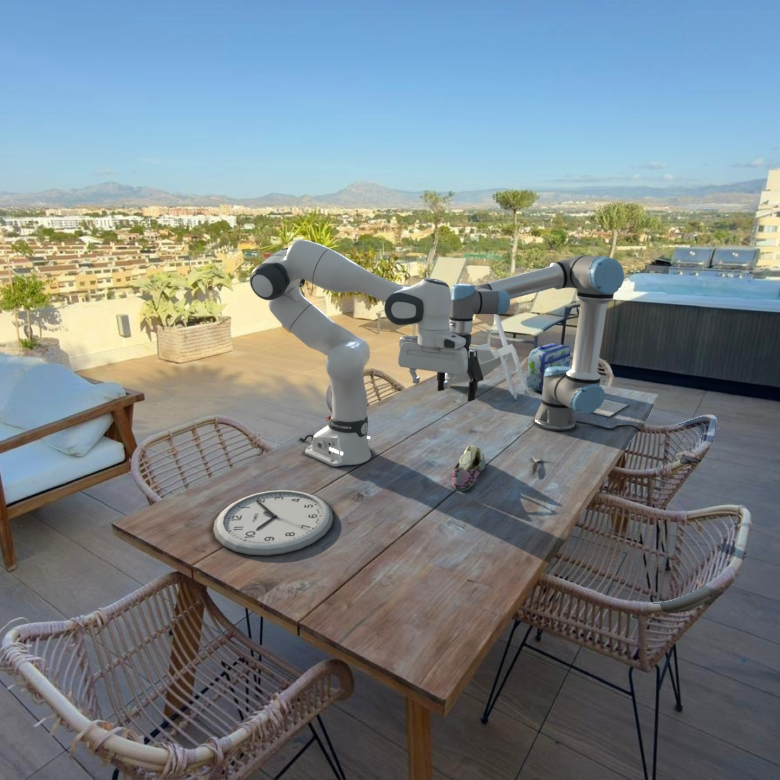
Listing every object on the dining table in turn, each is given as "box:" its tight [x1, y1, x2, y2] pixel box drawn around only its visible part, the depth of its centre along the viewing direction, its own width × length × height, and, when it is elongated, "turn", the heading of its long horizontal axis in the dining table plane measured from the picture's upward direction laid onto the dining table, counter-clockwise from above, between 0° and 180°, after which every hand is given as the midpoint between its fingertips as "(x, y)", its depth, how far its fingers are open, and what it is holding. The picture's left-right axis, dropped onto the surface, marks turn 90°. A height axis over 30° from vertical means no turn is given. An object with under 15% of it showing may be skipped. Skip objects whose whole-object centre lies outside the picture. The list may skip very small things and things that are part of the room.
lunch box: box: [525, 343, 571, 393], centre depth 249 cm, size 26×11×21 cm, turn 134°
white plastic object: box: [445, 314, 531, 400], centre depth 245 cm, size 37×45×31 cm
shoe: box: [451, 444, 487, 492], centre depth 160 cm, size 8×24×9 cm, turn 158°
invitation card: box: [591, 398, 629, 418], centre depth 226 cm, size 21×1×15 cm
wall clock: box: [212, 489, 334, 556], centre depth 134 cm, size 30×2×30 cm
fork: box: [532, 451, 543, 475], centre depth 168 cm, size 3×16×2 cm, turn 160°
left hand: (431, 385), depth 150 cm, fingers open, 8 cm apart
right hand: (455, 395), depth 175 cm, fingers open, 13 cm apart
